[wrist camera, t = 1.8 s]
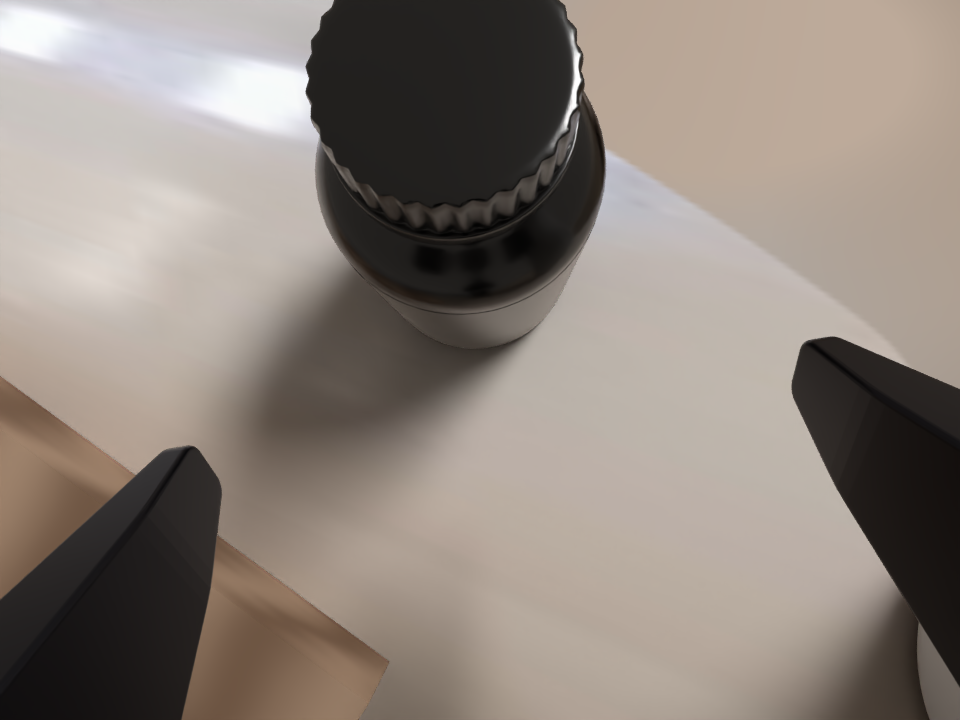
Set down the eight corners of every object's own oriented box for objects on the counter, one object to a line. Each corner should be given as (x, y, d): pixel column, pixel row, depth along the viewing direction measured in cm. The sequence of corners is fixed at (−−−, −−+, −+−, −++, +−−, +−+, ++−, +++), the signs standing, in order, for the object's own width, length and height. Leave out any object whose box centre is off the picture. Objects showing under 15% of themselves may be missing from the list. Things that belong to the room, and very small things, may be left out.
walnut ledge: (389, 661, 20) (368, 703, 17) (240, 890, 19) (192, 974, 16) (-34, 351, 22) (-119, 340, 19) (-179, 550, 21) (-290, 570, 18)
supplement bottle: (361, 320, 21) (177, 194, 10) (421, 154, 22) (316, -162, 10) (536, 378, 21) (573, 319, 9) (592, 206, 21) (698, -65, 10)
